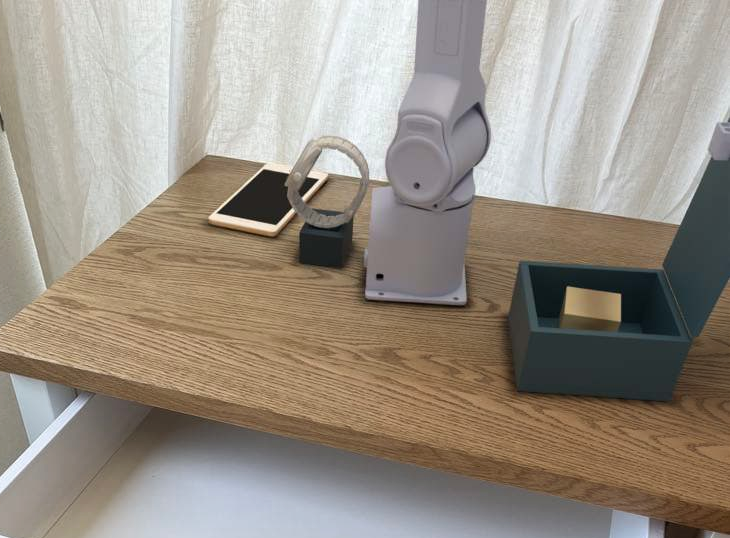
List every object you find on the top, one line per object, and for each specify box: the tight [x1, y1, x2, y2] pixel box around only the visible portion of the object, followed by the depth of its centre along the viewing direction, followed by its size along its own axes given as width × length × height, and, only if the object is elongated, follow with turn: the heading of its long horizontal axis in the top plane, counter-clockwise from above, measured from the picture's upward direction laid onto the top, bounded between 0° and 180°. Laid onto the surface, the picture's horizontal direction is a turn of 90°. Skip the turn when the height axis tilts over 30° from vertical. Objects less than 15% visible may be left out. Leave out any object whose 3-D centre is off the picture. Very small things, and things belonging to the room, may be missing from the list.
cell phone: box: [207, 162, 329, 237], centre depth 92 cm, size 8×16×1 cm, turn 159°
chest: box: [507, 260, 693, 402], centre depth 70 cm, size 12×11×6 cm
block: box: [556, 287, 621, 332], centre depth 70 cm, size 4×4×4 cm
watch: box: [285, 135, 371, 269], centre depth 80 cm, size 6×8×11 cm
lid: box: [661, 116, 730, 339], centre depth 63 cm, size 13×11×1 cm
